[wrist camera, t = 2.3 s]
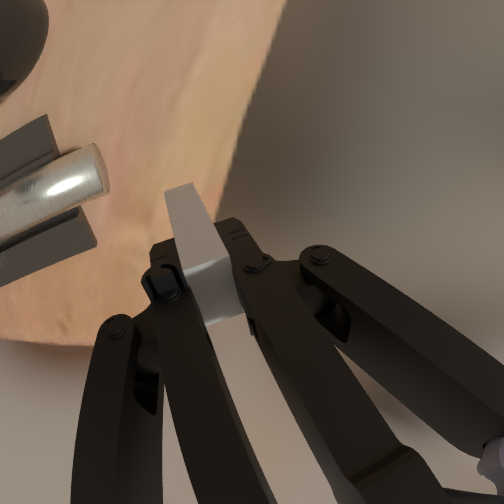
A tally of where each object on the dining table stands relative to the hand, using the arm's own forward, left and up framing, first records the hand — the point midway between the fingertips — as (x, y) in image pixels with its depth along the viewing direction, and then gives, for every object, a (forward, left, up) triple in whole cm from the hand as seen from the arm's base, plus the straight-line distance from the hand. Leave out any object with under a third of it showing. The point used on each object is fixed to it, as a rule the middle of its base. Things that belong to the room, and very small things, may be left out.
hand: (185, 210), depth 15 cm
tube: (0, -14, -12) cm, 19 cm away
